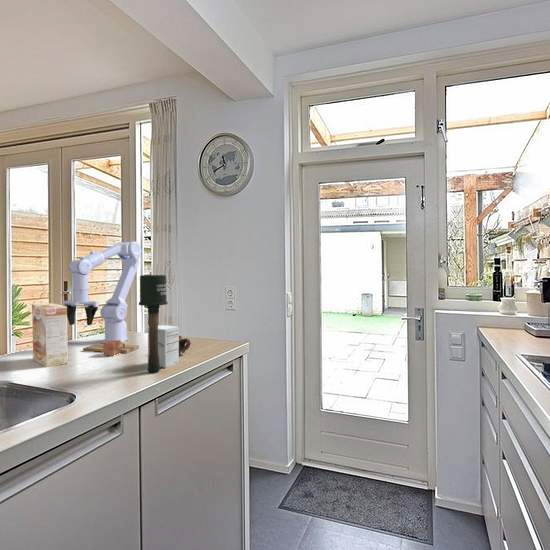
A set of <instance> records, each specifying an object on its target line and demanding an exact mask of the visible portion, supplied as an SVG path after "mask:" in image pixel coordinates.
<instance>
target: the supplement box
mask: <svg viewBox="0 0 550 550" xmlns="http://www.w3.org/2000/svg"><path fill="white" fill-rule="evenodd" d="M179 328H180V327H179V326H175V325H166V324H165V325H159V324H158V354H159V364H160V368H164V369H166V368H167V369H168V368H169V367H172V366H175V365H177V364H179V360H180V359H179V357H180V356H179V336H180V335H179V334H180V333H179V330H180V329H179ZM148 358H149V327H147V359H148Z"/></svg>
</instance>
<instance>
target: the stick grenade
mask: <svg viewBox="0 0 550 550" xmlns="http://www.w3.org/2000/svg"><path fill="white" fill-rule="evenodd" d="M138 305H139V306H145V307H146V309H147V324H148V328H149V358H148V357H147V371H148V372H149V373H150V374H151V373H153V374H154V373H156V374H157V373H159V372H160V370H161V367H160V364H159V354H158V326H159V324H160V322H159V321H160V320H159V319H160V317H159V316H160V308H161V306H165V305H168V301H167V275H165V274H141V275H140V276H139V302H138Z"/></svg>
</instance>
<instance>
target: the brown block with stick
mask: <svg viewBox="0 0 550 550" xmlns="http://www.w3.org/2000/svg"><path fill="white" fill-rule="evenodd" d="M102 344H103V352H102V353H103V355H109V356H108V357H113V356H114V355H116V356H118V355H120V354H119V353H121V345H123V347H124V346H125V345H127V340H126V341H122V342H121V340H109V341H106V342H103V343H102ZM117 354H118V355H117ZM121 354H122V353H121ZM114 357H115V356H114Z"/></svg>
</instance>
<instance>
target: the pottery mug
mask: <svg viewBox="0 0 550 550" xmlns="http://www.w3.org/2000/svg"><path fill="white" fill-rule="evenodd" d="M182 337H183V336H181V335H179V357H181V353H182V354H184V353H186V351H188V349H189V348H190V346H191V344H192V343H191V340H190V339H188V338H182Z"/></svg>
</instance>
